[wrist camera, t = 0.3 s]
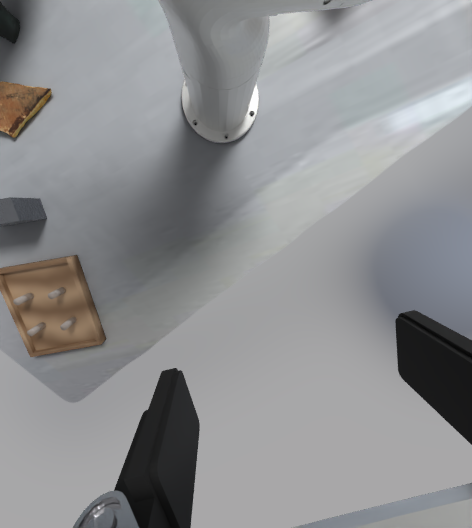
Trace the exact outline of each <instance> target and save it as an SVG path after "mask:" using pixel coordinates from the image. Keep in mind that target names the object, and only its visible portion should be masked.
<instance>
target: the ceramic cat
mask: <svg viewBox="0 0 472 528" xmlns="http://www.w3.org/2000/svg"><path fill="white" fill-rule="evenodd" d="M19 30H20V22H19V21H18V20H17V19H16V18H15V17H14V16H13V15H12V14H11V13H10V12H9V11H7V9H6V8H5V7H4V6H3V5H2V3H1V2H0V36H1V37H3V38H6V39H7V40H9V41H10V42H12V43H15V42H16V40H17V37H18V35H19Z"/></svg>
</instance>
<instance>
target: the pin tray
mask: <svg viewBox="0 0 472 528" xmlns="http://www.w3.org/2000/svg"><path fill="white" fill-rule="evenodd" d="M0 291H1V293H2V295H3V297H4V299H5V302H6V304H7V306H8V308H9V311H10V313H11V315H12V317H13V319H14V322H15V324H16V326H17V328H18V331H19V333H20V335H21V337H22V339H23V342H24V344H25V346H26V348H27V351H28V353H29V355H30V357H34V356H40V355H45V354H51V353H57V352H62V351H68V350H73V349H79V348H84V347H90V346H95V345H101V344H102V343H103V342H104V341H105V340H106V337H105V334H104V331H103V328H102V325H101V322H100V319H99V317H98V314H97V311H96V308H95V305H94V302H93V299H92V296H91V293H90V290H89V288H88V285H87V282H86V279H85V276H84V273H83V270H82V267H81V264H80V261H79V259H78V256H77V255H74V256H68V257H62V258H56V259H50V260H44V261H39V262H33V263H27V264H21V265H15V266H9V267H3V268H0Z"/></svg>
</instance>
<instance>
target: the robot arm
mask: <svg viewBox="0 0 472 528" xmlns="http://www.w3.org/2000/svg"><path fill="white" fill-rule="evenodd" d="M158 1H159V3H160V5H161V7H162V9H163V11H164V13H165V15H166V18H167V21H168V24H169V27H170V30H171V33H172V36H173V40H174V43H175V47H176V50H177V53H178V57H179V60H180V64H181V67H182V71H183V75H184V78H185V79H184V82H183V87H182V97H181V98H182V106H183V110H184V113H185V116H186V118H187V120H188V122H189V124H190V125H191V127H192V128H193V129H194V130H195V132H196V133H198V134H199V135H200V136H201V137H203V138H205V139H206V140H208V141H211V142H215V143H229V142H232V141H235V140H237V139H239V138H240V137H242V136H243V135H244V134H245V133H246V132H247V131H248V130H249V129H250V127H251V126H252V124H253V122H254V120H255V118H256V115H257V111H258V106H259V95H258V88H257V85H256V82H257V78H258V75H259V72H260V68H261V65H262V61H263V58H264V54H265V50H266V47H267V43H268V37H269V16H276V15H278V14H283V13H295V12H306V11H318V10H330V9H338V8H347V7H352V6H358V5H361V4H365V3H367V2H370V1H372V0H158ZM250 114H252V115H253V116H252V117H251V116H250ZM195 123H197V125H196V126H195V125H194V124H195ZM226 136H227V137H228V138H227V139H225V137H226ZM396 338H397V356H398V371H399V374H400V375H401V377H402V379H403V380H404V381H405V382H407V384H408V385H410V387H412V388H413V389H414V390H415V391H416V392H417V393H418V394H419V395H420V396H421V397H422V398H423V399H424V400H425V401H426V402H427V403H428V404H429V405H430V406H432V407H433V408H434V409H435V410H436V411H437V412H438V413H439V414H440V415H441V416H442V417H443V418H444V419H445V420H446V421H447V422H448V423H449V424H450V425H451V426H453V427H454V428H455V429H456V430H457V431H458V432H459V433H460V434H461V435H462V436H463V437H464V438H465V439H466V440H467V441H468V442H469V443H470V444H472V340H469V339H468V338H466V337H464V336H462V335H460V334H459V333H457V332H455V331H453V330H451V329H449V328H447V327H446V326H443V325H441V324H440V323H438V322H436V321H434V320H432V319H431V318H429V317H427V316H425V315H423V314H421V313H419V312H418V311H409V312H405V313H401V314H399V316H398V318H397V319H396ZM198 440H199V420H198V416H197V413H196V410H195V408H194V405H193V402H192V399H191V396H190V393H189V390H188V387H187V385H186V381H185V378H184V375H183V373H182V371H178V370H177V369H176V368H173V369H169V370H165V371H162V373H161V375H160V378H159V381H158V384H157V386H156V389H155V392H154V395H153V398H152V401H151V404H150V406H149V409H148V410H146V411H145V412H144V413H143V415H142V417H141V420H140V422H139V425H138V428H137V431H136V433H135V436H134V439H133V441H132V444H131V447H130V450H129V452H128V455H127V458H126V460H125V463H124V465H123V468H122V471H121V474H120V476H119V479H118V481H117V484H116V487H115V490H114V491H110V492H107V493H105V494H103V495H101V496H100V497H98V498H97V499H96V500H94V501H93V502H92V503H91V504H90V505H89V506H88V507H87V508H86V509H85V510H84V511H83V513H82V514H81V515H80V517H79V518H78V520H77V521H76V523H75V525H74V526H73V528H190V526H191V514H192V504H193V493H194V483H195V471H196V461H197V449H198ZM293 528H472V483H470V484H466V485H462V486H457V487H453V488H449V489H445V490H441V491H437V492H433V493H428V494H425V495H421V496H416V497H412V498H408V499H404V500H401V501H396V502H392V503H388V504H385V505H380V506H376V507H372V508H368V509H364V510H360V511H356V512H352V513H348V514H344V515H340V516H336V517H332V518H328V519H324V520H320V521H317V522H313V523H309V524H305V525H301V526H297V527H293Z"/></svg>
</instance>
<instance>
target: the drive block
mask: <svg viewBox="0 0 472 528" xmlns="http://www.w3.org/2000/svg"><path fill="white" fill-rule="evenodd" d="M43 219H47V217H46V214H45V211H44V209H43V206H42V203H41V200H40V199H34V198H5V199H0V226H7V225H13V224H19V223H25V222H31V221H37V220H43Z"/></svg>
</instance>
